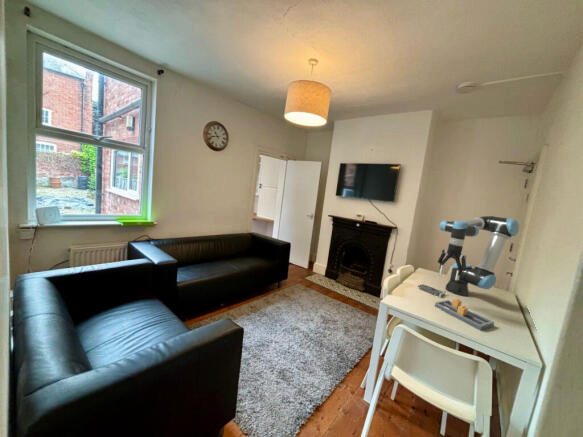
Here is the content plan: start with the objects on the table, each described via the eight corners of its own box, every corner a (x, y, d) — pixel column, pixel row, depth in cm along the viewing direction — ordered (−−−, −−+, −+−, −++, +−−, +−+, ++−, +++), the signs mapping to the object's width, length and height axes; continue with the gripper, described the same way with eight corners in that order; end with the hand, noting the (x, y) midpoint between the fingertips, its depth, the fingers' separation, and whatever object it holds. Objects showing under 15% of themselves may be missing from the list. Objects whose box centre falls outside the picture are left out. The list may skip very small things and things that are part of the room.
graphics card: (447, 291, 172) (441, 293, 165) (446, 295, 173) (440, 298, 165) (424, 282, 185) (417, 284, 178) (423, 286, 186) (416, 289, 178)
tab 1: (455, 305, 151) (456, 297, 150) (460, 307, 148) (462, 300, 147) (451, 305, 149) (453, 298, 148) (456, 308, 146) (458, 300, 145)
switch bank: (447, 304, 156) (448, 299, 156) (493, 326, 133) (494, 321, 133) (434, 306, 150) (435, 302, 150) (480, 330, 127) (481, 325, 127)
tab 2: (460, 312, 141) (462, 304, 141) (466, 315, 138) (468, 307, 138) (456, 313, 140) (458, 305, 139) (462, 315, 137) (464, 308, 136)
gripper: (435, 240, 158) (429, 270, 161) (471, 249, 139) (463, 284, 142) (442, 240, 161) (436, 270, 165) (478, 249, 142) (470, 283, 145)
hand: (448, 276), depth 153 cm, fingers open, 9 cm apart
